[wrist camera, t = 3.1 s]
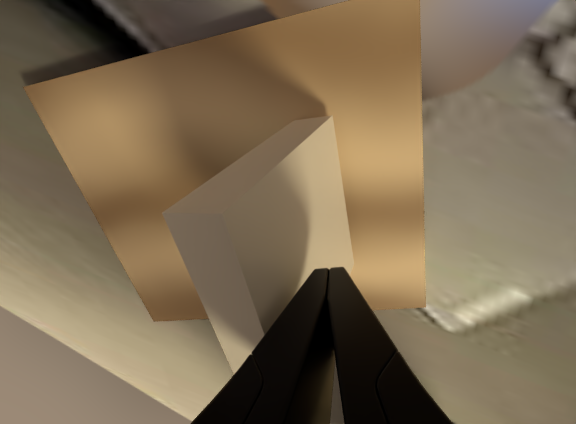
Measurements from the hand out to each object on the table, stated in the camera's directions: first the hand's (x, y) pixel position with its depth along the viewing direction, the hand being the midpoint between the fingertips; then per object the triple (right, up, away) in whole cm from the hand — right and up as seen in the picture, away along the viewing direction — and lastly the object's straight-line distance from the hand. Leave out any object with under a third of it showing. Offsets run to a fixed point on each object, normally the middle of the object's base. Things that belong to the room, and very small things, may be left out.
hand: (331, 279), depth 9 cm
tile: (0, +3, +5) cm, 5 cm away
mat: (-3, +2, +6) cm, 8 cm away
